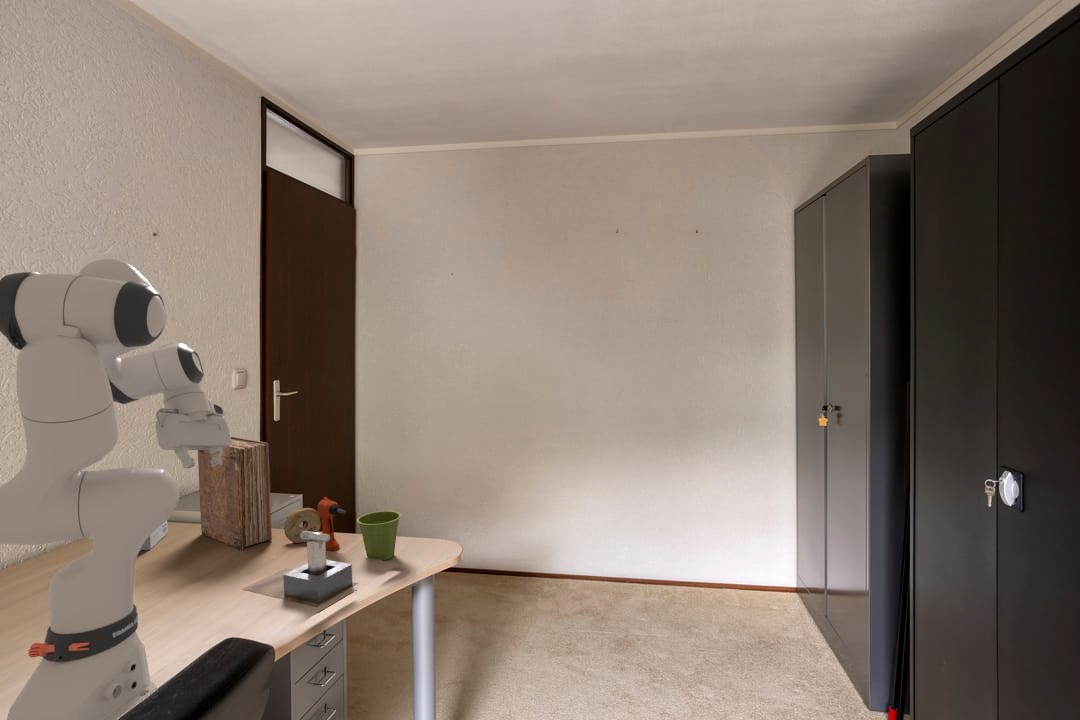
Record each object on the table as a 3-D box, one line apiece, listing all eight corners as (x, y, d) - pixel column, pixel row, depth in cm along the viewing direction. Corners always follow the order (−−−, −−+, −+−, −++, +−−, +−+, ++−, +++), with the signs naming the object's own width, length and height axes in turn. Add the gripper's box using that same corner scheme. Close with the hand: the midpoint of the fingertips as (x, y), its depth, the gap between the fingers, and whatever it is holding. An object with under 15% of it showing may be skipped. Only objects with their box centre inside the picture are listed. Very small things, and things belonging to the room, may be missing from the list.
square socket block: (352, 584, 136) (351, 564, 136) (318, 604, 126) (317, 582, 126) (319, 577, 140) (318, 558, 140) (284, 596, 130) (283, 574, 130)
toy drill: (339, 559, 152) (335, 503, 153) (316, 549, 166) (312, 497, 167) (357, 554, 155) (352, 499, 156) (332, 544, 169) (328, 494, 170)
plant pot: (381, 546, 165) (380, 508, 164) (411, 553, 159) (410, 514, 158) (348, 560, 155) (347, 520, 154) (379, 569, 149) (377, 526, 148)
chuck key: (336, 588, 133) (333, 531, 133) (323, 596, 130) (320, 537, 129) (310, 583, 137) (307, 527, 136) (298, 591, 133) (294, 533, 132)
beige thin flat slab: (358, 589, 137) (358, 583, 137) (317, 613, 125) (317, 607, 125) (285, 574, 146) (285, 568, 146) (241, 595, 134) (241, 589, 134)
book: (272, 541, 171) (268, 443, 170) (241, 551, 163) (237, 448, 162) (231, 526, 186) (227, 435, 185) (201, 534, 178) (197, 440, 177)
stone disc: (317, 535, 175) (316, 503, 175) (322, 538, 173) (321, 505, 172) (282, 544, 168) (281, 511, 168) (287, 547, 165) (286, 513, 165)
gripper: (168, 402, 122) (184, 462, 119) (228, 409, 142) (243, 460, 140) (141, 413, 122) (157, 473, 120) (205, 418, 142) (220, 470, 140)
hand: (204, 466), depth 130 cm, fingers open, 8 cm apart
